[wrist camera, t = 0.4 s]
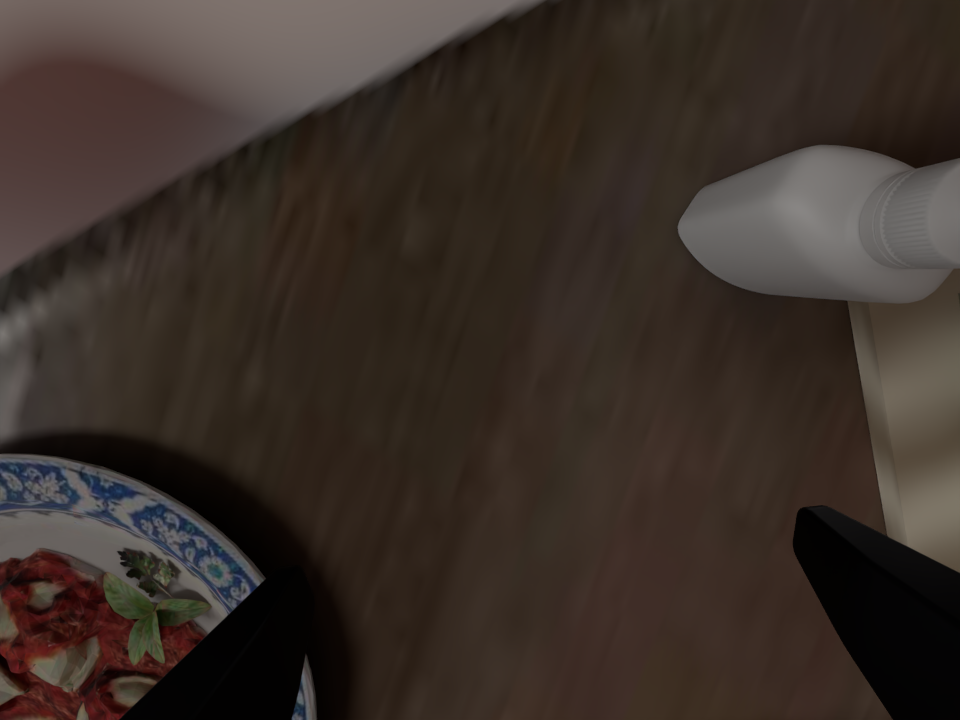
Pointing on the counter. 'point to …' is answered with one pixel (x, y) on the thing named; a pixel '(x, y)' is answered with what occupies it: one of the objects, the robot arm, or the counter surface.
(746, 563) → the counter surface
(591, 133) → the counter surface
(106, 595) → the ceramic plate
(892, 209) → the eye dropper bottle
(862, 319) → the bottle socket
